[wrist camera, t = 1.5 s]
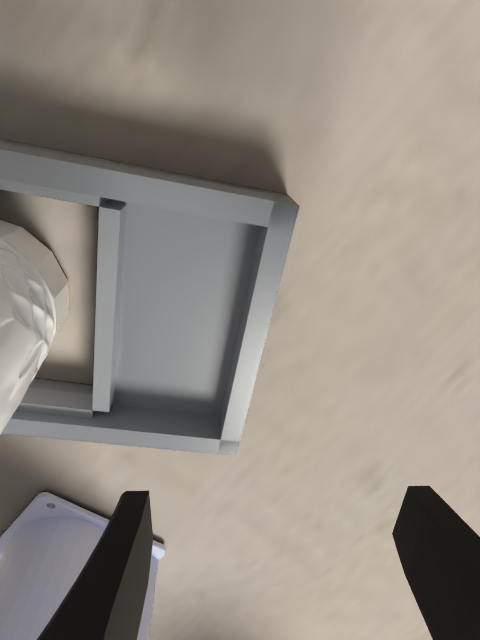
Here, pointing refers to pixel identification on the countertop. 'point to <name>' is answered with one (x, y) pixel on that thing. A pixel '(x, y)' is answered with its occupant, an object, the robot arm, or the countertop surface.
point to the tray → (161, 302)
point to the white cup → (26, 311)
